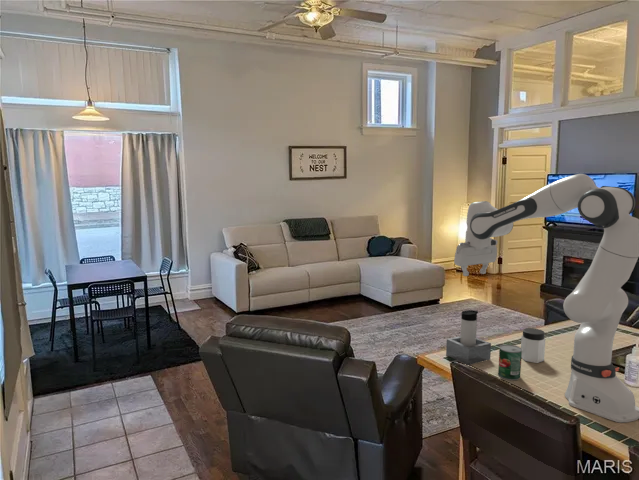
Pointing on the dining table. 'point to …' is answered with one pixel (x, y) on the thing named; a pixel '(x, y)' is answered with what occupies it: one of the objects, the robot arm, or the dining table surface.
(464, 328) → the travel mug
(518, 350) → the canned tomato
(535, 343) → the jar
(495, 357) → the dining table surface
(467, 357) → the grey square open box
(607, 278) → the robot arm
